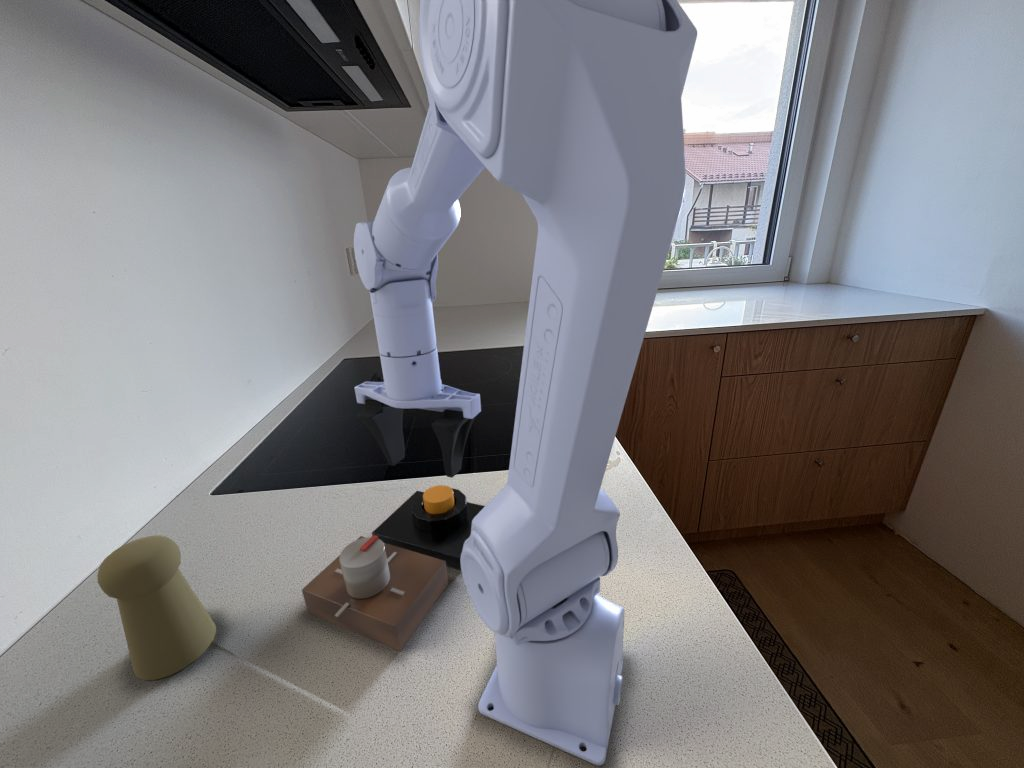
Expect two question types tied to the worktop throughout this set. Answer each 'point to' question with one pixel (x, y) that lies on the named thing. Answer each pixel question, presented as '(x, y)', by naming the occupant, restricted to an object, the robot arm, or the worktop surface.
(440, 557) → the lamp switch
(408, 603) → the dimmer panel
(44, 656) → the worktop surface
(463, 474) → the worktop surface
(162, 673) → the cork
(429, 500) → the power button
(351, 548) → the dimmer knob
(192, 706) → the worktop surface
